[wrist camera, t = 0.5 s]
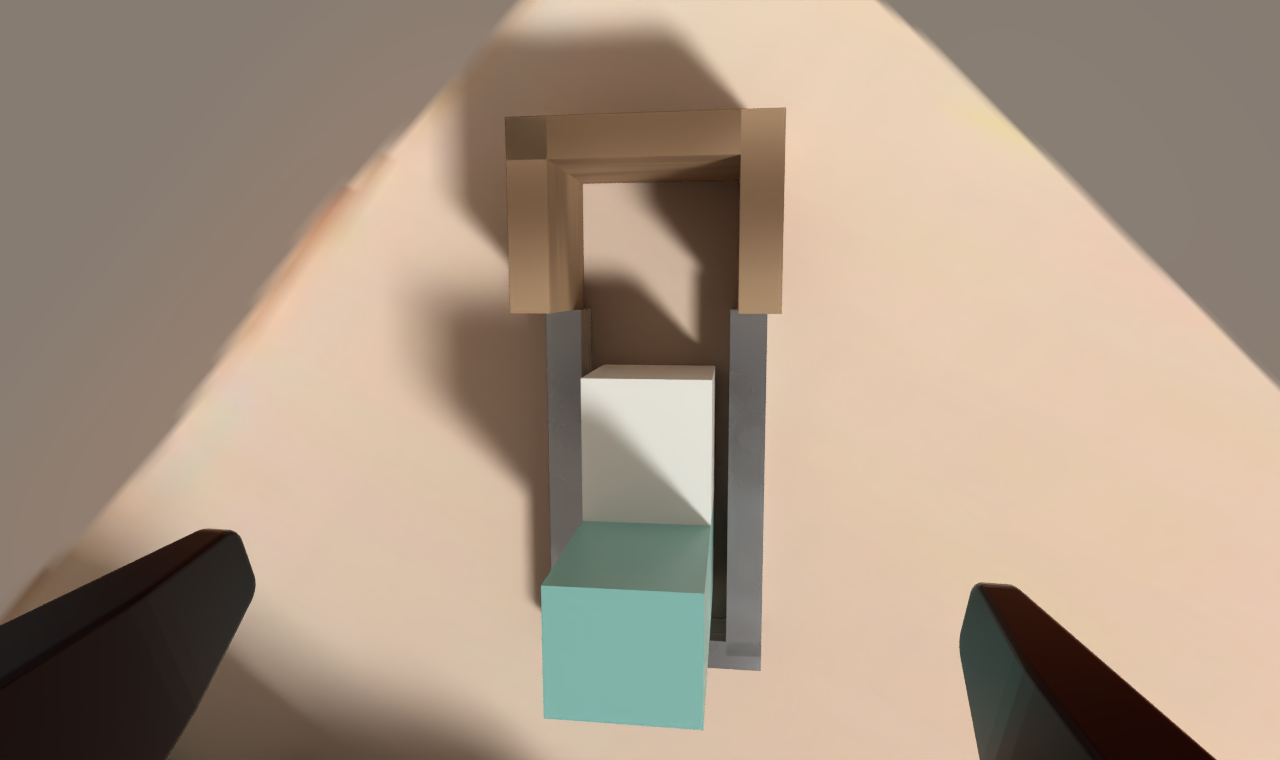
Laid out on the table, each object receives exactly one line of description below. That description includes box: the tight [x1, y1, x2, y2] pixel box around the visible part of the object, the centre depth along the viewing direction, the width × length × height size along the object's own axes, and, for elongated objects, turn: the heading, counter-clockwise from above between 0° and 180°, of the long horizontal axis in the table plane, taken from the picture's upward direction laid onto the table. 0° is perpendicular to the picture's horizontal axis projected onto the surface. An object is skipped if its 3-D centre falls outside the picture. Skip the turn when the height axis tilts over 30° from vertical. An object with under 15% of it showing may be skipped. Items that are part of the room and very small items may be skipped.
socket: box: [505, 108, 786, 314], centre depth 23 cm, size 6×8×5 cm
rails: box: [546, 308, 767, 671], centre depth 26 cm, size 12×7×2 cm, turn 0°
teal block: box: [541, 365, 715, 730], centre depth 22 cm, size 8×4×9 cm, turn 0°
